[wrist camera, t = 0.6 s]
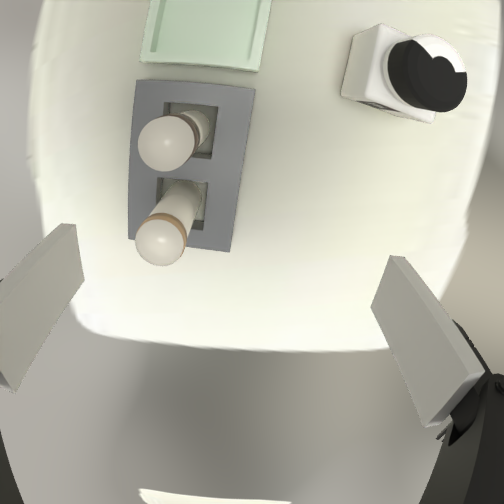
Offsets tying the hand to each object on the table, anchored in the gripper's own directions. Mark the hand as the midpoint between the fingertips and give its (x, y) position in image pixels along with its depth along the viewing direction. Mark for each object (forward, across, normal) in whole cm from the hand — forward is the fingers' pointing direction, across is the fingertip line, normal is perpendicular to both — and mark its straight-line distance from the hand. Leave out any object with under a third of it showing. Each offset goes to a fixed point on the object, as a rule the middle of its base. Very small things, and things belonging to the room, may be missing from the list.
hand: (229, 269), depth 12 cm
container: (+24, +14, +12) cm, 30 cm away
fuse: (+23, -6, -6) cm, 25 cm away
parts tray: (+23, -5, +16) cm, 29 cm away
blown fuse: (+23, -6, +2) cm, 24 cm away
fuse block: (+23, -6, -2) cm, 24 cm away
